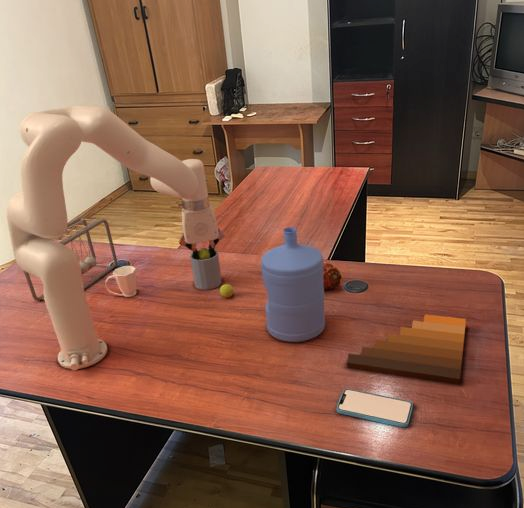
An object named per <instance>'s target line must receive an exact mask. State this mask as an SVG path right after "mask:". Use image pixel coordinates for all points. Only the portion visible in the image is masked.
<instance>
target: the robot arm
mask: <svg viewBox="0 0 524 508" xmlns="http://www.w3.org/2000/svg"><path fill="white" fill-rule="evenodd" d="M19 134H20V137H21V139H22V141H23V143H24V144H25V145H26V146H27V147H28V148H27V150H26V151H25V153H24V155H23V158H22V161H21V167H20V176H21V177H20V179H21V189H22V191H20V192H17V193H16V194H15V195H13V196H12V197H11V199H10V200H9V202H8V205H7V208H6V220H7V227H8V232H9V237H10V242H11V248H12V252H13V256H14V259H15V262H16V264H17V266H18V267H19V268H20V269H21V270H22V271H23V270H24V271H26V272H27V273H29V275H31V276H34V277H36V278H38V279H39V280H40V281H41V283H42V286H43V294H44V303H45V306H46V309H47V312H48V314H49V318H50V321H51V323H52V326H53V330H54V332H55V336H56V339H57V342H58V345H59V347H60V351H59V352H58V354H57V362H58V364H59V366H61V367H63V368H65V369H70V370H71V371H77V370H78V369H85V368H88V367H91V366H93V365H95V364H97V363H99V362H100V361H101V360H103V359H104V358H105V356H107V353H108V346H107V343H106V342H105V341H104V340H102V339H99V337H98V333H97V329H96V326H95V323H94V319H93V316H92V312H91V309H90V306H89V302H88V299H87V296H86V292H85V289H84V288H83V286H84V283H83V279H82V273H81V265H80V262H81V261H80V259H79V258H80V257H78V256H79V255H78V254H77V252H76V251H74V249H73V250H72V248H70V246H67V245H63V244H61V243H62V242H61V243H58V242H59V241H58V242H57V241H56V240H55V239H58V238H61V237H62V236H64V235H65V233H66V231H67V230H68V229H67V225H68V223H69V221H68V220H69V219H68V213H67V212H68V211H67V206H66V197H65V192H64V191H65V190H64V183H63V181H64V180H63V172H64V169H65V166H66V165H67V162H68V161H69V159H71V157H72V156H73V155H74V154H75V153H76V152H77V151H78V149H79V148H80V146H81V144H82V143H88V144H89V143H90V144H92V145H95V146H96V147H97V148H99V149H100V150H102V151H103V152H105V153H106V154H108V156H110V157H112V158H113V159H114V160H116V162H118V163H120V165H122V166H123V167H125V168H127V169H129V170H131V171H133V172H135V173H139V174H140V175H141V174H142V175H143V176H147V177H150V180H149V181H150V185H151V187H152V189H153V190H154V191H156V192H157V193H159V194H161V195H167V196H169V197H171V196H172V197H175V198H179V199H181V200H180V201H179V202H177V206H178V208H181V226H182V233H181V236H180V238H179V240H178V244H179V245H180V246H183V247H186V248H187V249H189V250H190V251H191V253H193V258H194V259H196V260H199V256H198V251H197V250H198V249H197V244H200V243H201V244H202V243H206V242H208V243H209V244H208V249H209V251H210V254H211V256H210V258H212V257H214V256H215V250H216V249H215V248H216V246H217V245H218V243H219V241H221V240H222V239H223V238H224V237H225V234H224V233H223V231H222V230H221V229H220V228H219V227H218V223H217V218H216V214H215V210H214V207H213V205H212V204H210V199H209V192H208V186H207V178H206V172H205V166H204V163H203V161H202V160H201V159H197V158H188V159H184V160H180V158H177V157H176V156H175V155H173V154H171V153H169V152H168V151H166V150H165V149H162V148H161V147H159V145H156V144H154V143H152V142H151V141H149V140H147V139H146V138H145V137H143V136H142V135H141V134H140V133H138V132H136V130H134V128H132V127H131V126H130V125H128V124H127V123H126V122H125V121H123V120H122V118H121V117H119V116H118V115H116V114H115V113H114V112H113V111H111V110H110V109H107V108H106V107H103V106H96V105H86V104H85V105H84V104H79V105H72V106H66V107H65V106H64V107H60V108H53V109H47V110H41V111H34V112H31V113H29V114H27V115H26V116H25V117H24V118H23V119H22V121H21V123H20V127H19ZM66 229H67V230H66ZM52 239H54V240H52ZM24 271H23V272H24Z"/></svg>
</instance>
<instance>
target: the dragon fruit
mask: <svg viewBox="0 0 524 508" xmlns="http://www.w3.org/2000/svg"><path fill="white" fill-rule="evenodd" d="M323 264H324V271H323V284H324V289H326V290H331V289H332V288H335V287H338V286H339V285H340V284H341V283H342V282H341V280H342V274H341V271H340V270H339V269H338V268H337V267H334V265H333V264H331V263H330V262H323Z"/></svg>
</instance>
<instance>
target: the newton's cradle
mask: <svg viewBox="0 0 524 508" xmlns="http://www.w3.org/2000/svg"><path fill="white" fill-rule="evenodd" d="M87 221H90V222H91V223H89V224H88V223H87ZM81 222H82V224H83V225H82V226H83V227H81V228H80V229H79V230H78V228H77V226H78V227H80V223H81ZM78 224H79V225H78ZM102 224H104V228H105V231H106V236H107V239H108V243H109V247H110V251H111V256H112V259H113V264H112V265H108V264H101V263H97V258H96V257H97V256H96V253H95V249H94V245H93V242H92V238H91V235H90V231H91V230H93V229H95V228H97V227H98V226H99V225H102ZM72 227H75V230H74V229H72V231H74V233H72V234H71V235H70V233H69V230H70V229H71V228H72ZM66 231H67V234H66V236H67V237H65V238H64V239H62V238H61V237H59V241H58V243H61V244H63V245H65V246H67V245H68V244H71V245H72V246H73V247H71V250H73V251H74V250H75V253H76V255H77V256H78V258H79V261H80V265H81V274H82V273H86V272H88V271H89V269H90V268H94V267H95V266H101V267H108V268H107V269H105V270H103V271H102V272H100V273H99V274H98V275H96V276H95V277H93V278H92V279H90V281H88V282H87V283H85V284H83V288H84V290H86V289H88V288H89V287H90V286H92V285H93V284H94V283H96V282H97V281H99V280H100V279H101V278H103V277H104V276H105V275H107V274H108V273H109V272H111V271H112V270H115V269H116V267H117V266H118V258H117V254H116V250H115V245H114V242H113V237H112V234H111V229H110V225H109V222H108V220H106V219H105V218H102V219H92V218H91V219H90V218H85V217H83V216H79V217H76V218H75V219H72V220H71V221H70V222H69V221H68V225H67V229H66ZM83 235H85V236H86V239H87V245H88V248H89V249H88V252H89V254H88V252H87V249H86V247H85V245H84V243H83V240H82V237H81V236H83ZM78 238H79V240H80V242H79V246H80V248H82V246H83V248H84V250H85V253H86V255H87V257H86V258H85V259H84V260H83V259H81V258H80V256H79V254H78V251H77V248H76V246H75V245H74V243H73V241H74V240H76V239H78ZM51 240H52V241H55V238H54V239H51ZM73 248H74V249H73ZM80 254H81V256H83V253H82V250H80ZM22 271H23V273H24V276H25V279H26V282H27V285H28V288H29V291H30V293H31V296H32V298H33V300H35V301H36V302H40V301H42V300H44V293H42V294H41V295H40V296H37V294H36V291H35V287H34V285H33V282H32V279H31V277H30V274H29V273H27V272H26V271H24V270H23V269H22ZM44 301H45V300H44Z"/></svg>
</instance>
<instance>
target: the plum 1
mask: <svg viewBox="0 0 524 508" xmlns="http://www.w3.org/2000/svg"><path fill="white" fill-rule="evenodd" d="M199 249H200V250H199ZM199 249H198V250H199V251H198V256H199V259H200V260H205V259H209V258H210V256H211V254H210V251H209V250H208V249H209V248H206V247H202V248H199Z"/></svg>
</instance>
